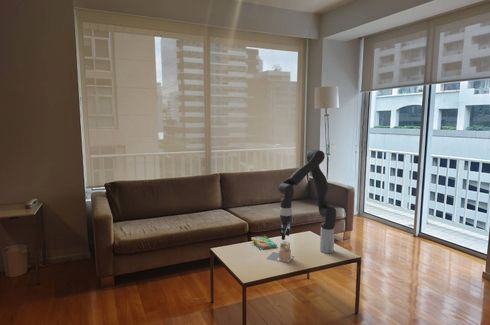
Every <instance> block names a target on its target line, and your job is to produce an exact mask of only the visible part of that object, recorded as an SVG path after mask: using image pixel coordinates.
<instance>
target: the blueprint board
mask: <svg viewBox="0 0 490 325" xmlns="http://www.w3.org/2000/svg"><path fill="white" fill-rule="evenodd" d="M295 257H296V256H295V255H291V258H290V259H289V260H288V261H286V260H281V259H279V252H276V251H275V252H274V251H272V253H270V254H269V255H268V256H267V257H266V258H265V259H266V260H269V261H275V262H278V263H283V264H287V265H289V264H291V262H292V261H293V260H294V259H295Z"/></svg>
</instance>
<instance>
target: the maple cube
mask: <svg viewBox="0 0 490 325" xmlns="http://www.w3.org/2000/svg"><path fill="white" fill-rule="evenodd" d="M279 243H280V247H279V250H280V251H285V252H288V251H289V250H290V249H291V242H290V241H286V240H282V241H281V242H279Z"/></svg>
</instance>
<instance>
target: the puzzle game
mask: <svg viewBox="0 0 490 325" xmlns="http://www.w3.org/2000/svg"><path fill="white" fill-rule="evenodd" d="M250 239H251V241H253V244H255V246H257V247H258V249H260V250H265V249H267V250H268V249H272V248H277V246H278V244H277V243H276V242H274V241H273V240H272V239H270V238H269V237H268V236H266V235H262V236H261V235H260V236H253V237H251V238H250Z"/></svg>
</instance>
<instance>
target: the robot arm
mask: <svg viewBox="0 0 490 325" xmlns="http://www.w3.org/2000/svg"><path fill="white" fill-rule="evenodd" d="M325 158H326V156H325V153H324V151H323V150H320V149H309V150H308V151H307V152H306V161H307V163H305V164H304V165H302V166H301V167H299V168H297V169H296V170H295V171H294V172H293V173H292V174H291V175H290V177H288V178H286V179H285V180H284V181H283V182H281V183H280V184H279V186H278V192H279V193H280V194H283V195H284V196H283V197H282V198H281V199H280V209H279V211H280V212H279V221H280V222H282V224H280V228H279V231H280V232H279V235H281V240H282V241H286V236H287V237H289V236H290V230H291V229H292V216H293V215H292V213H293V210H292V202H293V201H292V200H293V196H294V193H295V190H294V186H298V185H299V184H300V183H301V182H302V180H304V178H305V177H306V176H307V175H308V174H311V177H312V181H313V185H314V186H313V187H314V191H315V195H316V198H317V200H316V201H317V206H318V213H319V215H320V216H321V217H322V218H325V221H324V222H321V223H320V242H319V251H320V252H322V253H325V254H333V253H334V251H335V225H336V222H337V209H336V208H335V207H334V206H332V205H329V204H328V201H327V196H328V193H329V182H328V179H327V178H326V176H325V173H323V171H322V170H321V168H320V165H321V164H322V163H323V161H325Z"/></svg>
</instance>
